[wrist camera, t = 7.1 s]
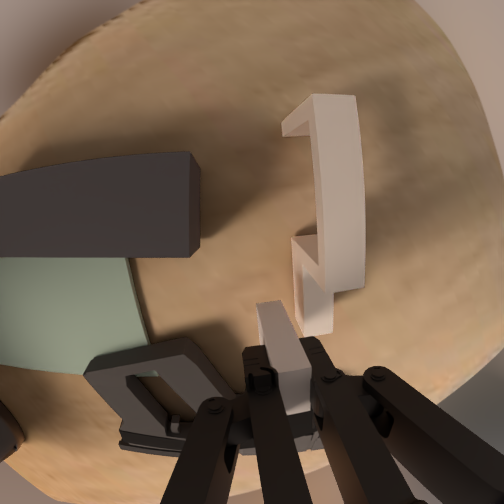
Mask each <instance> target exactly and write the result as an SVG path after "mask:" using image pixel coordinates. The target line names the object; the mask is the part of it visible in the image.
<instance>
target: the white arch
mask: <svg viewBox="0 0 504 504" xmlns="http://www.w3.org/2000/svg"><path fill="white" fill-rule="evenodd" d="M281 128H282V137H290V136H310V139H311V149H312V160H313V172H314V184H315V199H316V215H317V234H313V235H304V236H295V237H291V245H292V261H293V279H294V300H295V318H296V320H297V322H298V324H299V327H300V329H301V331H302V333H303V335H304V337H309V336H317V335H323V334H328V333H333V309H334V292H340V291H347V290H352V289H358V288H364V284H365V252H366V221H365V190H364V172H363V158H362V147H361V136H360V127H359V119H358V111H357V104H356V97H355V95H342V94H311V95H310V96H309V97H308V98H306V99H305V100H304V101H303V102H302V103H301V104H300V105H299V106H298V107H297V108H296V109H295V110H294V111H292V112H291V113H290V114H289V115H288V116H287V117H286V118H285V119H284V120H283V121H282V122H281Z"/></svg>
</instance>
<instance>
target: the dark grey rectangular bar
mask: <svg viewBox="0 0 504 504" xmlns="http://www.w3.org/2000/svg"><path fill="white" fill-rule="evenodd" d="M199 248H200V167H199V166H198V164H197V162H196V161H195V159H194V157H193V156H192V154H191V152H190V151H188V152H166V153H151V154H138V155H127V156H117V157H107V158H99V159H91V160H84V161H77V162H70V163H64V164H58V165H52V166H47V167H41V168H36V169H31V170H26V171H22V172H17V173H13V174H8V175H4V176H0V257H36V258H190V257H191V256H192V255H193V254H194V253H195V252H196V251H197V250H198V249H199Z"/></svg>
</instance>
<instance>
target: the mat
mask: <svg viewBox="0 0 504 504" xmlns="http://www.w3.org/2000/svg"><path fill="white" fill-rule="evenodd" d="M147 345H151V344H150V341H149V337H148V334H147V331H146V327H145V324H144V320H143V317H142V313H141V310H140V306H139V302H138V298H137V294H136V290H135V286H134V282H133V278H132V273H131V269H130V264H129V260H128V258H36V257H0V364H2V365H7V366H13V367H19V368H25V369H32V370H40V371H48V372H58V373H68V374H81V375H83V373H84V371H85V369H86V368H87V366H88V364H89V362H90V361H91V360H92V359H94V357H97V356H101V355H106V354H111V353H115V352H120V351H124V350H129V349H133V348H138V347H142V346H147ZM134 375H135V376H136V377H149V376H159V374H158V373H157V372H156V371H155V370H154V371H149V372H144V373H139V374H134Z"/></svg>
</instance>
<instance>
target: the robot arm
mask: <svg viewBox="0 0 504 504" xmlns="http://www.w3.org/2000/svg"><path fill="white" fill-rule="evenodd" d="M256 310H257V319H258V329H259V339H260V345H258V346H251V347H245V349H244V351H243V353H242V356H243V364H244V372H245V382H246V389H245V392H244V393H243V394H242V395H240V396H239V397H237V398H235V399H232V400H230V401H229V400H228V399H226V398H224V397H211V398H208V399H206V400H204V401H203V402H202V403H201V405H200V406H199V408H198V411H197V413H196V416H195V418H194V421H193V423H192V426H191V428H190V431H189V433H188V436H187V438H186V441H185V443H184V446H183V448H182V451H181V453H180V456H179V458H178V461H177V463H176V466H175V468H174V470H173V473H172V475H171V478H170V480H169V483H168V485H167V488H166V490H165V493H164V495H163V497H162V500H161V502H160V504H227V500H228V496H229V492H230V488H231V483H232V479H233V475H234V471H235V466H236V462H237V458H238V453H239V449H240V443H243V442H245V441H248V440H251V439H253V438H254V443H255V450H256V456H257V462H258V469H259V475H260V481H261V487H262V493H263V498H264V504H313V503H312V500H311V496H310V493H309V490H308V486H307V483H306V479H305V476H304V473H303V469H302V466H301V462H300V459H299V455H298V452H297V448H296V445H295V442H294V438H293V435H292V431H291V428H290V424H289V421H288V417H287V415H291V414H296V413H301V412H306V411H310V404H311V406H312V409H313V422H312V428H313V429H314V428H315V425H316V428H317V430H318V433H319V436H320V439H321V441H322V444H323V447H324V449H325V452H326V455H327V458H328V460H329V463H330V466H331V468H332V471H333V474H334V476H335V479H336V482H337V485H338V487H339V490H340V493H341V495H342V498H343V501H344V504H428V503H427V502H425V501H424V500H418V499H416V498H415V497H414V495H413V494H412V492H411V490H410V488H409V486H408V484H407V482H406V481H405V479H404V477H403V475H402V473H401V472H400V470H399V468H398V466H397V464H396V463H395V461H394V459H393V457H392V456H391V454H392V455H393V456H394V457H395V458H396V459H397V460H398V461H399V462H400V463H401V464H402V465H403V466H404V467H405V468H406V469H407V470H408V471H409V472H410V473H411V474H412V475H413V476H414V477H415V478H416V479H417V480H418V481H419V482H420V483H421V484H422V485H423V486H425V487H426V488H427V489H428V490H429V491H430V492H431V493H432V494H433V495H434V496H435V497H436V498H437V499H438V500H440V501H441V502H442V503H443V504H504V455H503V454H501V453H500V452H498V451H497V450H496V449H494V448H493V447H492V446H490V445H489V444H488V443H486V442H485V441H483V440H482V439H481V438H479V437H478V436H477V435H476V434H474V433H473V432H471V431H470V430H469V429H467V428H466V427H465V426H463V425H462V424H461V423H459V422H458V421H457V420H455V419H454V418H453V417H451V416H450V415H449V414H447V413H446V412H444V411H443V410H442V409H441V408H439V407H438V406H437V405H435V404H434V403H433V402H431V401H430V400H429V399H428V398H426V397H425V396H424V395H422V394H421V393H420V392H418V391H417V390H416V389H414V388H413V387H412V386H410V385H409V384H408V383H406V382H405V381H404V380H402V379H401V378H400V377H399V376H397V375H396V374H395V373H393V372H392V371H391V370H389V369H388V368H386V367H382V366H373V367H370V368H368V369H367V370H365V372H364V374H363V376H348V375H345V374H344V373H343V372H342V370H339V369H337V368H335V367H334V365H333V363H332V361H331V359H330V358H329V356H328V354H327V352H326V351H325V349H324V347H323V345H322V344H321V342H320V340H318V339H317V338H315V337H314V336H309V337H304V338H298V336H297V334H296V332H295V330H294V327H293V325H292V323H291V321H290V319H289V317H288V315H287V312H286V310H285V308H284V306H283V304H282V302H281V300H277V301H270V302H263V303H256ZM23 441H24V435H23V432H22V430H21V428H20V426H19V425H18V423H17V422H16V420H15V419H14V417H13V416H12V415H11V413H10V412H9V411H8V410H7V409H6V407H5V406H4V405H3V404H2V403H1V402H0V463H1V462H2V461H3V460H5V459H6V458H8V457H9V456H10V455H12V454H13V453H14V452H15V451H17V450H18V449H19V448H20V446H21V445H22V443H23ZM390 453H391V454H390Z"/></svg>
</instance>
